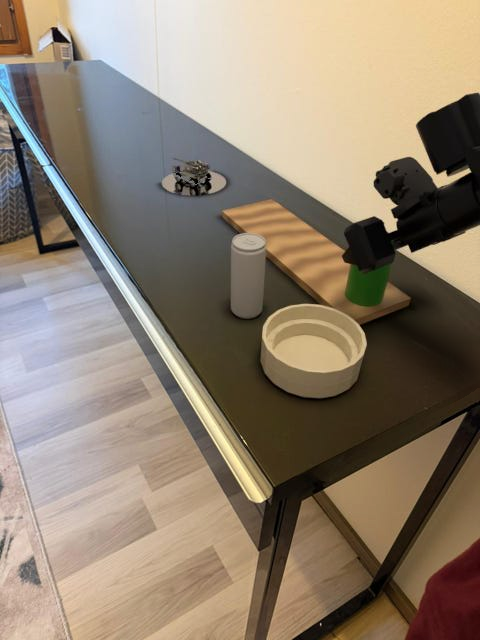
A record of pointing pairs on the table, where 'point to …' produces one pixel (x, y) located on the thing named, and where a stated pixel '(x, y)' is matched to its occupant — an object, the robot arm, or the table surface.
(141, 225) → the table surface
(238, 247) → the beverage can
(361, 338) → the bowl
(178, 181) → the grey wheeled model
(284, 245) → the cutting board
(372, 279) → the green spray can
